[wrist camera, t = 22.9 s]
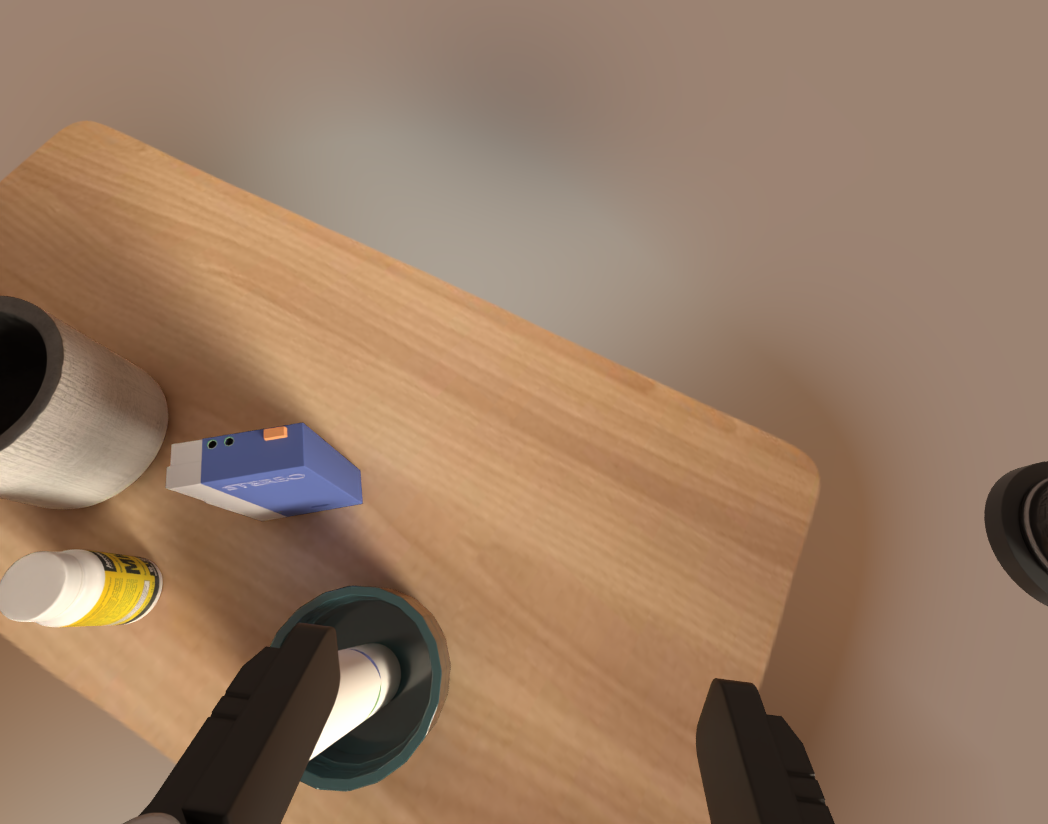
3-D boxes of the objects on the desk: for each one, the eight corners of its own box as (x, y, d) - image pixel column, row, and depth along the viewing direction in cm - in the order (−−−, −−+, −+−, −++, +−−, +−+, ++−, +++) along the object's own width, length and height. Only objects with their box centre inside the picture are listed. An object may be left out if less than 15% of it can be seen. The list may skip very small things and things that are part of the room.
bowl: (476, 623, 38) (469, 626, 33) (409, 795, 34) (390, 825, 29) (338, 565, 39) (313, 559, 34) (260, 724, 36) (220, 742, 31)
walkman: (360, 469, 42) (300, 419, 31) (362, 504, 41) (302, 464, 30) (260, 486, 41) (162, 442, 30) (260, 521, 40) (159, 488, 29)
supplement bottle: (177, 567, 39) (89, 557, 31) (144, 633, 38) (43, 640, 30) (120, 549, 40) (20, 534, 32) (85, 613, 38) (-29, 615, 30)
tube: (340, 718, 35) (218, 793, 21) (336, 649, 37) (220, 676, 23) (403, 705, 35) (325, 770, 21) (397, 637, 37) (320, 656, 23)
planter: (148, 516, 40) (17, 484, 30) (-11, 508, 41) (-196, 474, 30) (192, 369, 45) (91, 296, 34) (48, 362, 45) (-95, 288, 35)
